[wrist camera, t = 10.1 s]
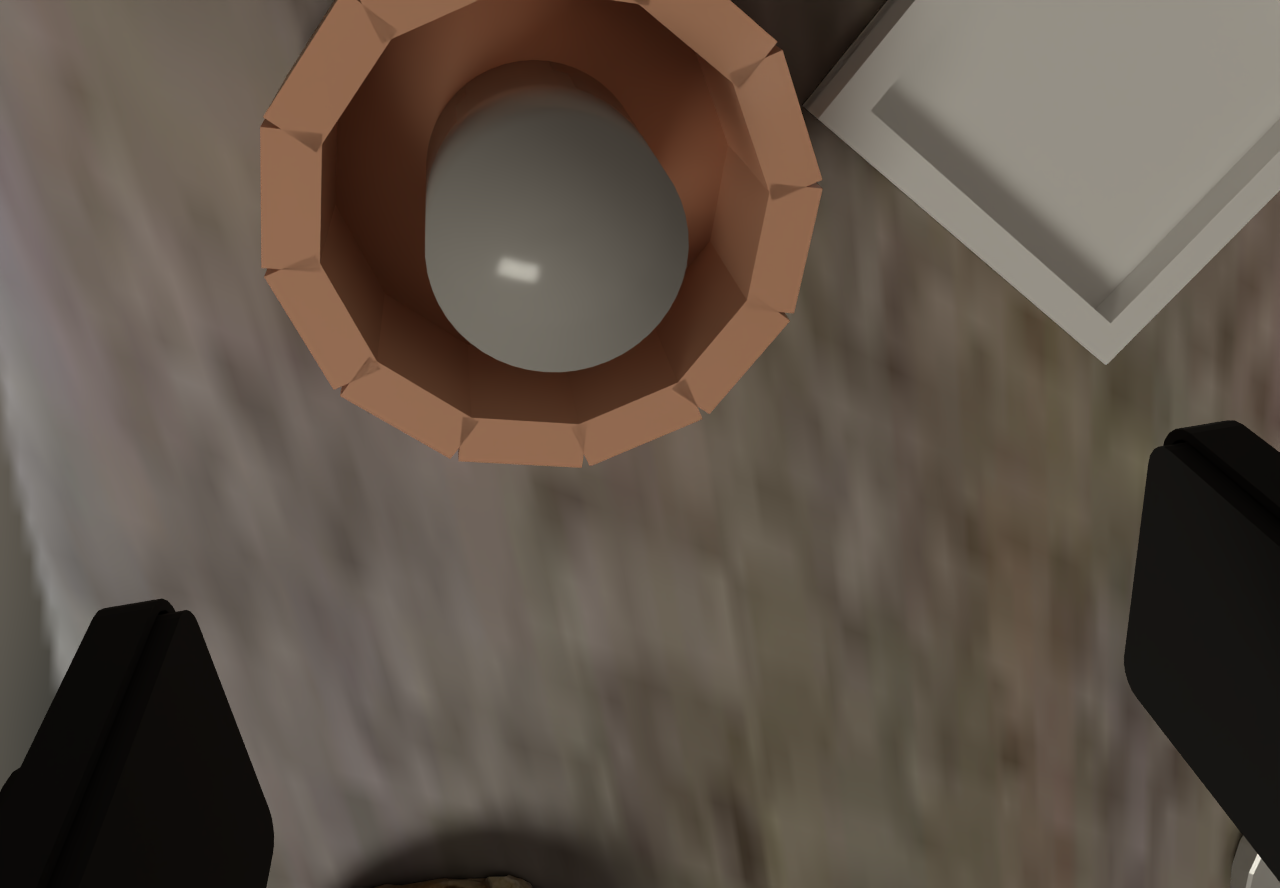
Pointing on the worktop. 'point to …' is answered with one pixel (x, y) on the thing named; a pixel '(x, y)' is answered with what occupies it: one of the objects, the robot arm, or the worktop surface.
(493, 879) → the bread roll
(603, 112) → the grey cylinder
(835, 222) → the worktop surface
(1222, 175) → the parts tray
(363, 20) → the bowl
